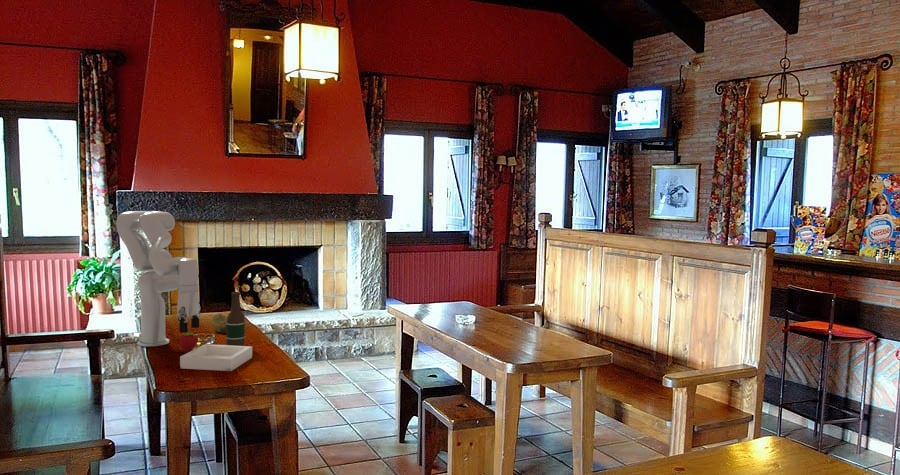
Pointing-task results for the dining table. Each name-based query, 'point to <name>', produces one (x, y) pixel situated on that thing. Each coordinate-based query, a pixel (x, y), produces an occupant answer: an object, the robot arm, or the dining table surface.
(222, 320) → the potato
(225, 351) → the tray
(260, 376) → the dining table surface
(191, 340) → the strawberry
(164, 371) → the dining table surface
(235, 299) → the beer bottle
